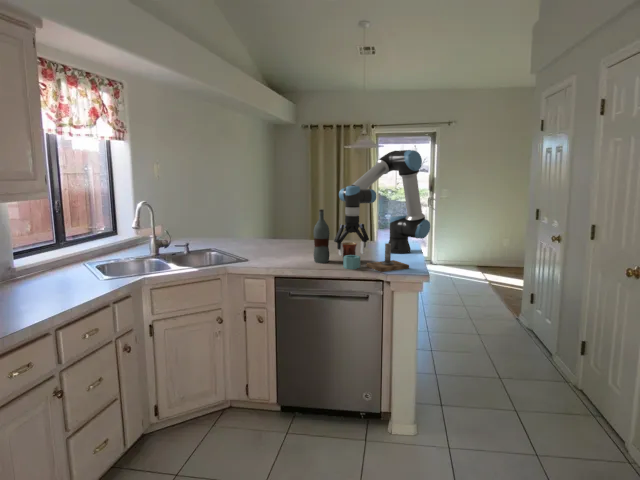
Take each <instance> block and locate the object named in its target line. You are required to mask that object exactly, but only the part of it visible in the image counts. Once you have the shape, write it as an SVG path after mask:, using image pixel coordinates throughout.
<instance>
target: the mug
mask: <svg viewBox="0 0 640 480" xmlns="http://www.w3.org/2000/svg"><path fill="white" fill-rule="evenodd" d="M341 243H342V258H343V257H344V256H345V255H357V252H356V251H357V245H358V243H356V242H351V241H350V242H341Z"/></svg>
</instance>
